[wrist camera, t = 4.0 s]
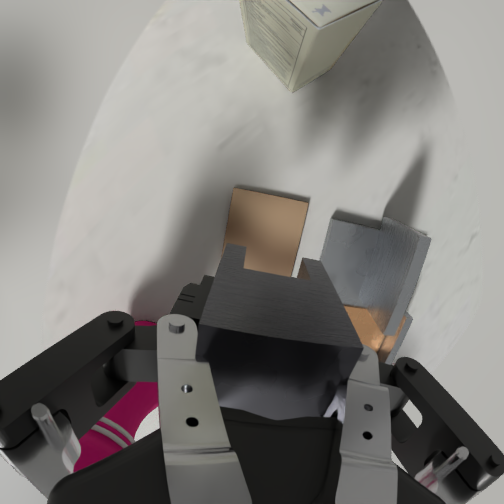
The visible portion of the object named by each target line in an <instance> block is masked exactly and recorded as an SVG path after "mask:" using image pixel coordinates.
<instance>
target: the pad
mask: <svg viewBox="0 0 504 504" xmlns="http://www.w3.org/2000/svg"><path fill="white" fill-rule="evenodd" d="M307 208H308V202H303V201H298V200H294V199H289V198H284V197H280V196H275V195H270V194H265V193H260V192H255V191H249V190H244V189H239V188H233V194H232V199H231V205H230V210H229V216H228V222H227V227H226V233H225V239H224V245H223V251H222V255H223V253H224V250H225V247H226V244H227V243H230V244H235V245H240V246H246V247H247V248H246V255H245V262H244V268H246V269H251V270H256V271H261V272H267V273H272V274H277V275H283V276H288V277H291V273H292V269H293V266H294V262H295V258H296V254H297V250H298V246H299V241H300V237H301V233H302V229H303V225H304V221H305V216H306V212H307ZM221 258H222V257H221Z"/></svg>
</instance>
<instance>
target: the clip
mask: <svg viewBox="0 0 504 504" xmlns="http://www.w3.org/2000/svg"><path fill="white" fill-rule="evenodd" d="M246 248H247V247H246V246H240V245H235V244H230V243H227V244H226V247H225V250H224V253H223V255H222V258H221V261H220V264H219V267H218V270H217V272H216V275H215V278H214V281H213V284H212V287H211V290H210V292H209V295H208V298H207V301H206V304H205V307H204V310H203V313H202V316H201V319H200V322H199V327H198V336H197V344H196V353H195V354H196V355H201V356H202V357H203V359H207V360H208V362H209V366H210V370H211V374H212V378H213V383H214V387H215V391H216V395H217V399H218V403H219V406H222V407H228V408H234V409H241V410H245V411H248V412H251V413H254V414H257V415H260V416H263V417H266V418H269V419H273V420H284V419H292V418H299V417H306V416H312V417H320V416H324V415H325V413H326V412H327V410H328V408H329V406H330V405H331V403H332V401H333V399H334V397H335V394H336V390H337V385H338V383H339V381H340V379H341V377H342V375H351V373H352V371H353V369H354V367H355V365H356V363H357V361H358V359H359V357H360V355H361V353H362V351H363V349H364V347H363V345H362V343H361V341H360V338H359V336H358V334H357V332H356V330H355V328H354V326H353V324H352V322H351V320H350V318H349V315H348V313H347V311H346V309H345V307H344V305H343V303H342V301H341V299H340V297H339V295H338V293H337V291H336V289H335V287H334V285H333V283H332V281H331V280H330V278H329V276H328V274H327V272H326V270H325V268H324V266H323V264H322V262H321V261H318V260H313V259H308V258H302V261H301V265H300V269H299V272H298V276H297V278H294V277H288V276H283V275H277V274H272V273H267V272H261V271H256V270H251V269H246V268H244V262H245V255H246Z"/></svg>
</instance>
